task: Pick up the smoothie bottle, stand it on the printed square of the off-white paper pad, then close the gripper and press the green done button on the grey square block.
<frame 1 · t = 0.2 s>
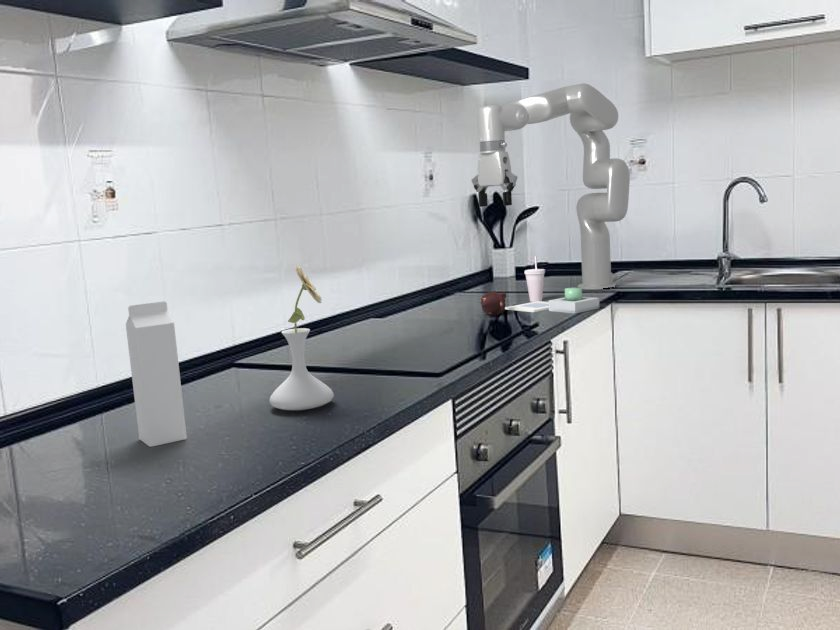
hand: (495, 205, 254), 30 cm above the worktop, fingers open, 9 cm apart
smoothie: (536, 301, 264), on the worktop
milk: (163, 440, 136), on the worktop
paper pad: (536, 307, 250), on the worktop
grey square block: (574, 309, 241), on the worktop
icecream: (494, 315, 241), on the worktop
done button: (573, 294, 240), point 4 cm above the worktop, slide at 0.0 cm
flower in vase: (304, 407, 151), on the worktop
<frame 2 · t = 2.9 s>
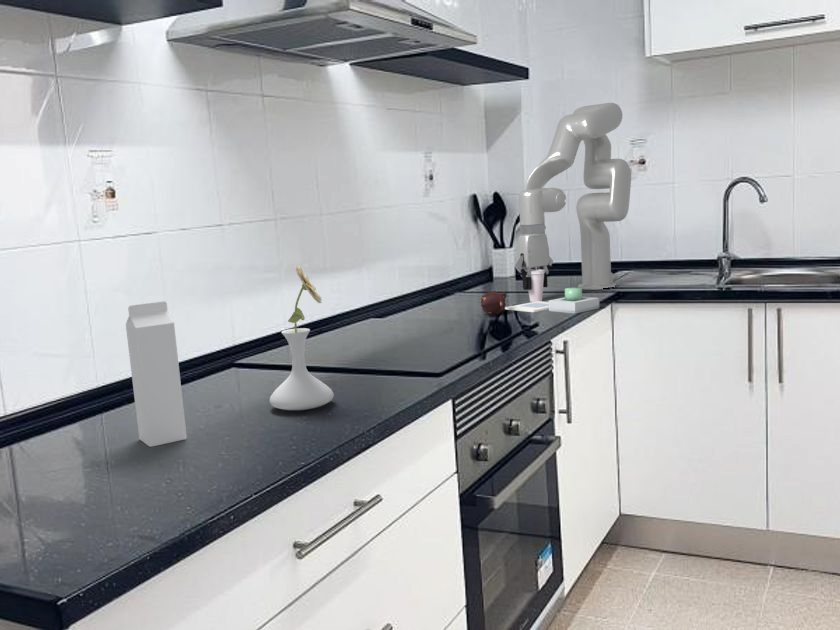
hand: (535, 287, 263), 4 cm above the worktop, fingers closed on smoothie, 6 cm apart
smoothie: (536, 301, 264), on the worktop, touching gripper
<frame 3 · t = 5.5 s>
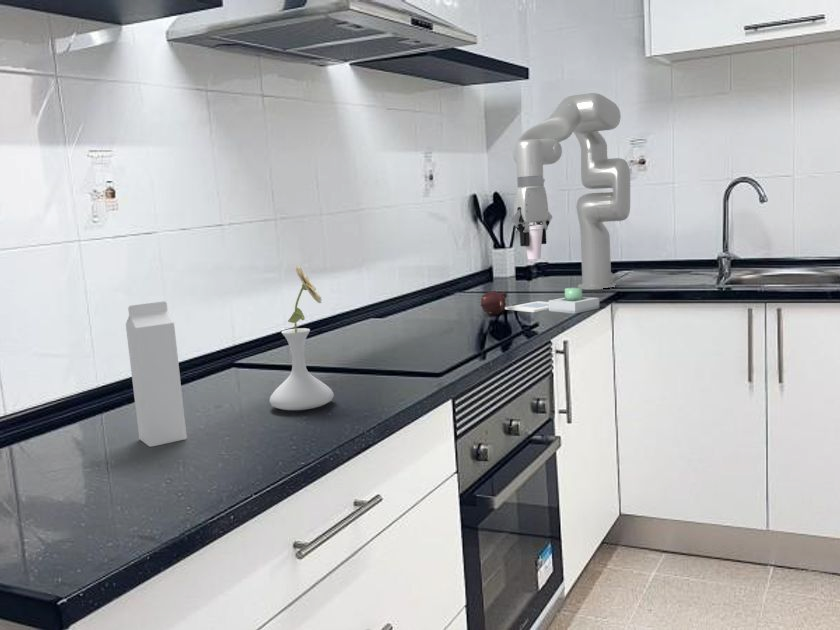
hand: (533, 244, 247), 19 cm above the worktop, fingers closed on smoothie, 6 cm apart
smoothie: (534, 259, 248), point 14 cm above the worktop, touching gripper
when the fingers open (6 cm above the worktop, at t = 8.2 s): smoothie stays where it is, resting on paper pad.
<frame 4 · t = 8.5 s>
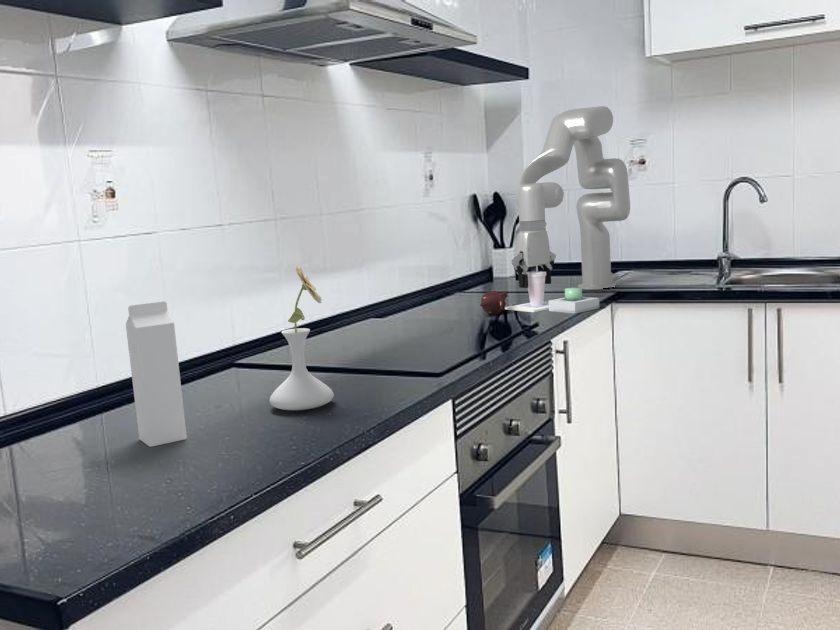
hand: (535, 285, 249), 7 cm above the worktop, fingers open, 9 cm apart
smoothie: (536, 305, 250), point 1 cm above the worktop, touching paper pad
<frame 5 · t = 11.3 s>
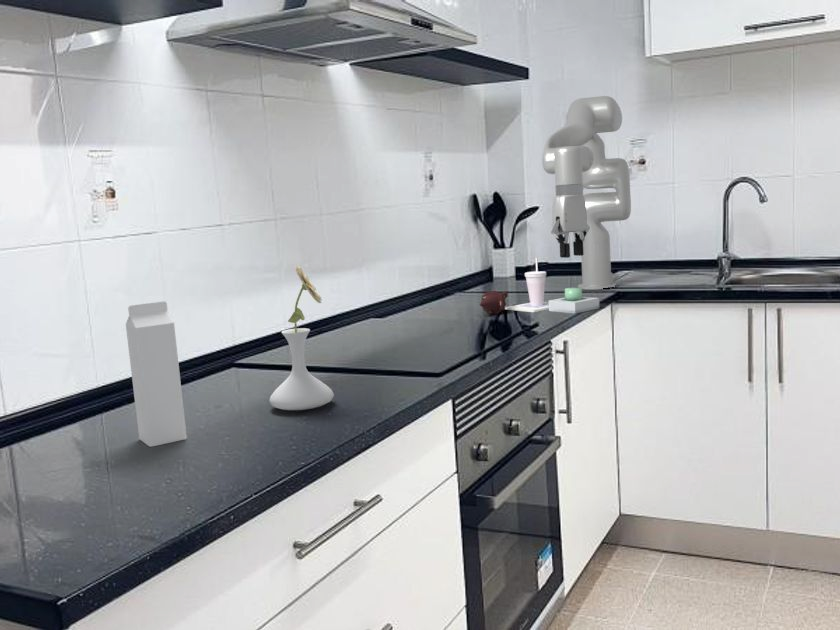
hand: (571, 255, 239), 15 cm above the worktop, fingers open, 4 cm apart
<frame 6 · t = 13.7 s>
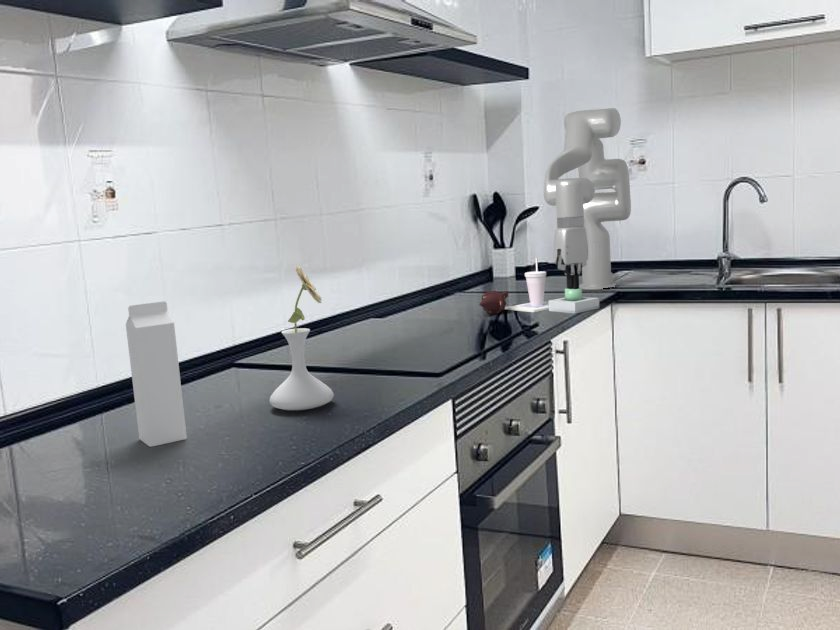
hand: (573, 288, 240), 6 cm above the worktop, fingers closed
done button: (573, 294, 240), point 4 cm above the worktop, slide at 0.0 cm, touching gripper
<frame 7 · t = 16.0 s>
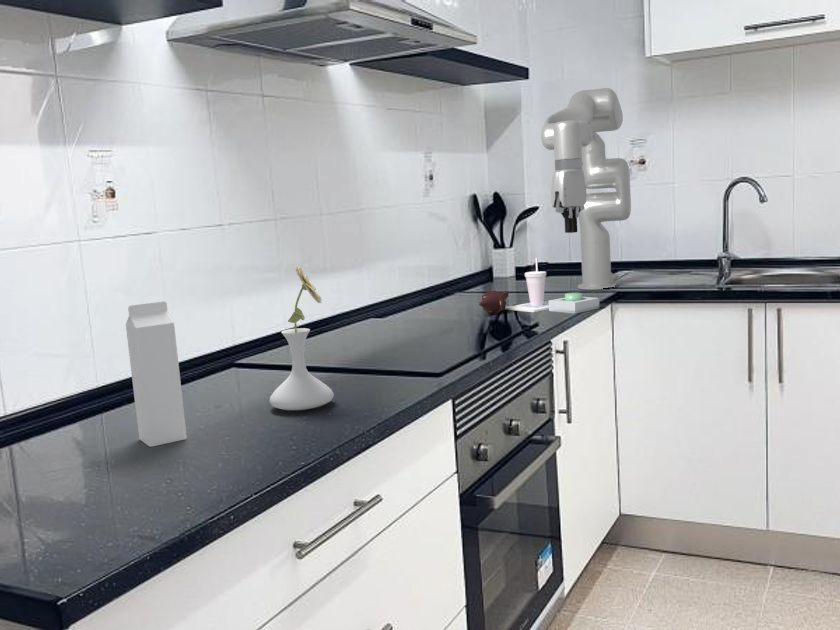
hand: (571, 232, 238), 22 cm above the worktop, fingers closed
done button: (573, 300, 240), point 3 cm above the worktop, slide at 1.5 cm
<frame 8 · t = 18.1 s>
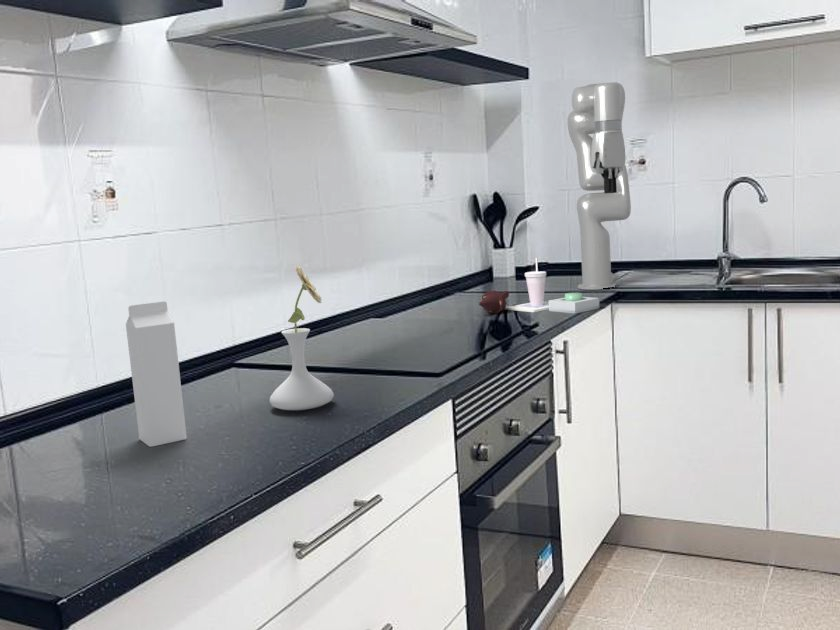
hand: (610, 192, 244), 32 cm above the worktop, fingers closed
at the end: smoothie inside the target area on the paper pad (0.4 cm from its centre), point 0.5 cm above the paper pad's base; smoothie tilted 0°; done button slide at 1.5 cm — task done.
